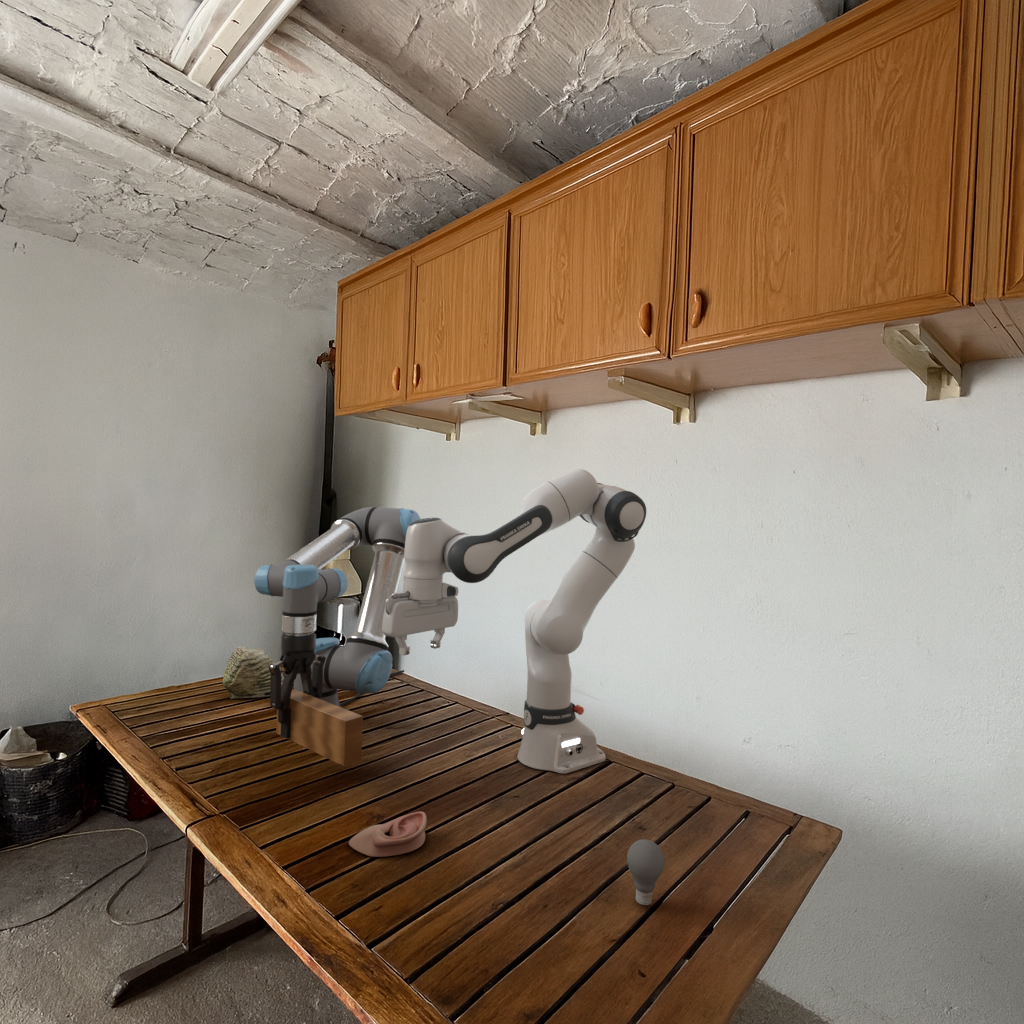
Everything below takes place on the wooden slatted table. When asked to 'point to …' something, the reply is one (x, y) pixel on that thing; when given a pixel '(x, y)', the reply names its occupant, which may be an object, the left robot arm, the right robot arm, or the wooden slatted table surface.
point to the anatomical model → (392, 836)
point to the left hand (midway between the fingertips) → (295, 733)
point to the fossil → (248, 673)
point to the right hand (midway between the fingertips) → (420, 651)
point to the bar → (325, 728)
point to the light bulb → (645, 868)
